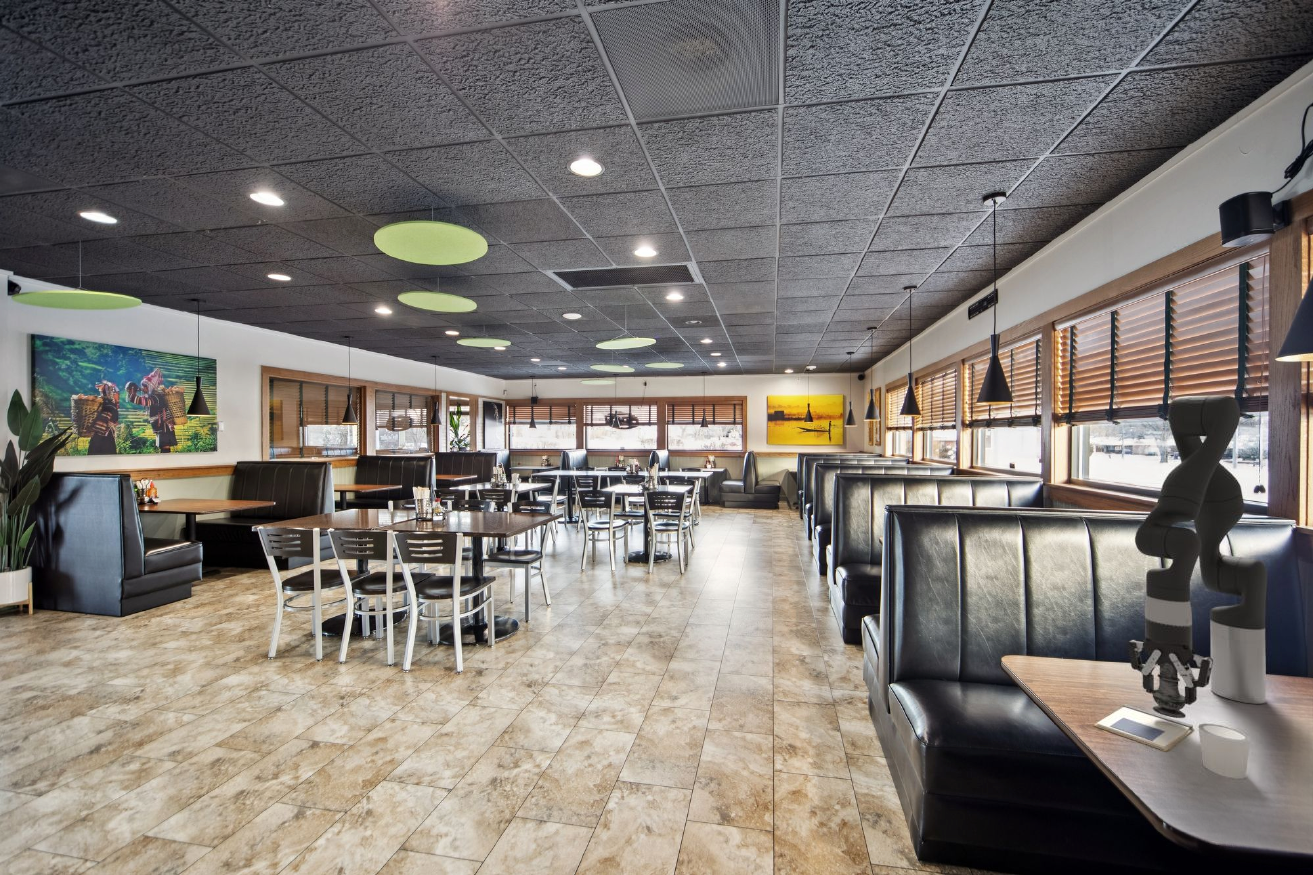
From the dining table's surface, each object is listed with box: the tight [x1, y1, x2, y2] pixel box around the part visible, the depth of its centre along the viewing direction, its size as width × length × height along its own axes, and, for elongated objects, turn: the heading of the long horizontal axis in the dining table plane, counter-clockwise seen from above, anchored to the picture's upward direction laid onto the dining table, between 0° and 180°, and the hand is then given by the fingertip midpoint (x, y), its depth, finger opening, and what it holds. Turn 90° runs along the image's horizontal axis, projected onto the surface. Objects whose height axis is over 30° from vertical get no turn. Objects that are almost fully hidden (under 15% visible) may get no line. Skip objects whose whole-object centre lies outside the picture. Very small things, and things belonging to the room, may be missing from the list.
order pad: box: [1093, 703, 1195, 752], centre depth 121 cm, size 16×12×1 cm
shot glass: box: [1197, 723, 1251, 780], centre depth 106 cm, size 7×7×7 cm
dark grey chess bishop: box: [1151, 662, 1187, 719], centre depth 122 cm, size 6×6×12 cm
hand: (1168, 697), depth 122 cm, fingers closed on dark grey chess bishop, 6 cm apart
